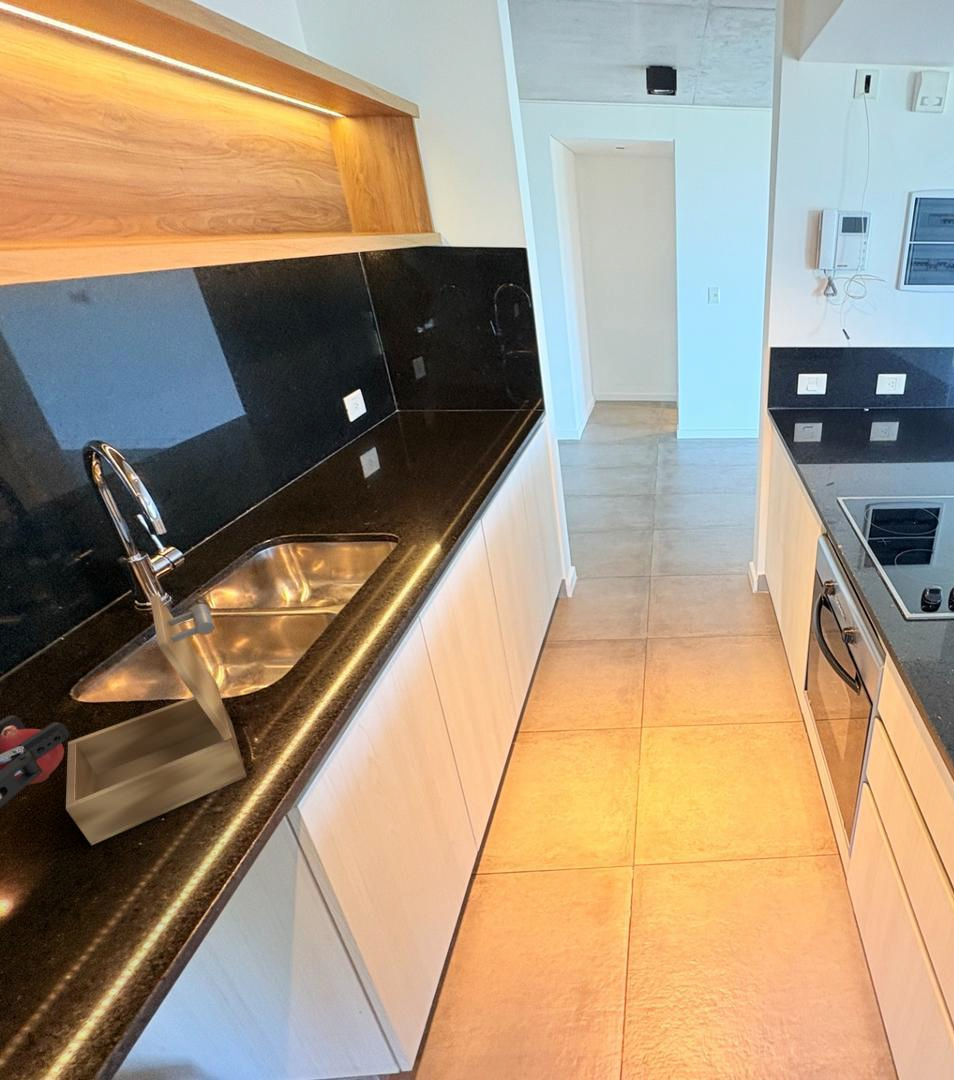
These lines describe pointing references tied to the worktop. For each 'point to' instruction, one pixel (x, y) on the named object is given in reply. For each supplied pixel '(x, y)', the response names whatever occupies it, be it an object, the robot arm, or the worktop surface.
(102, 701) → the worktop surface
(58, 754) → the onion
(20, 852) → the worktop surface
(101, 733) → the breadbox
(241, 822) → the worktop surface
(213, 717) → the lid
